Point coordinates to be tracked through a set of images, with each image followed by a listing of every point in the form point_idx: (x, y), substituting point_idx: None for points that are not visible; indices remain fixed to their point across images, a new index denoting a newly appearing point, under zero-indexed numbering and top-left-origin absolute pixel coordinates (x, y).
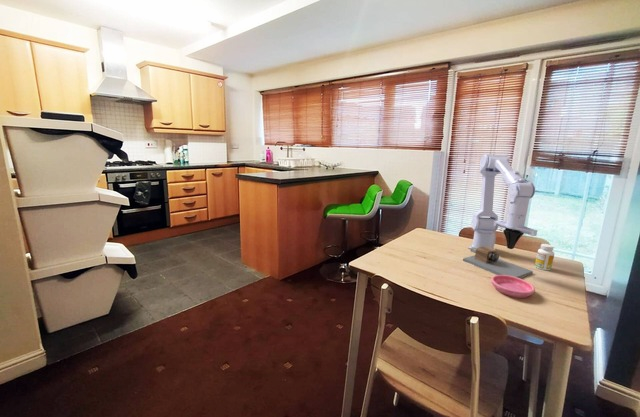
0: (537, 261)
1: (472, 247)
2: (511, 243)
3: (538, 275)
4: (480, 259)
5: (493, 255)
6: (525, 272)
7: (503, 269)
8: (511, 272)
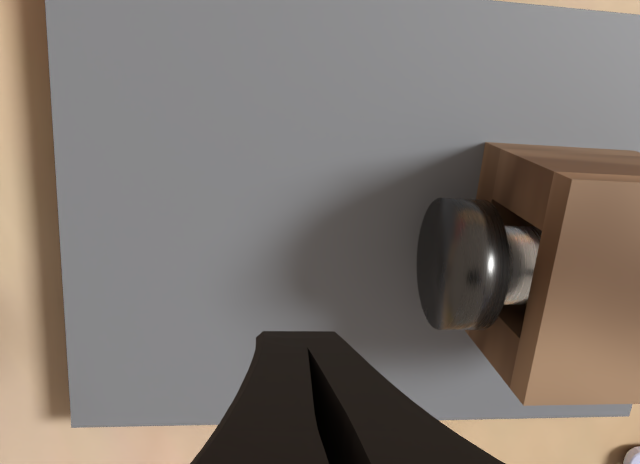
0: None
1: None
2: (259, 390)
3: (18, 418)
4: (572, 149)
5: (478, 227)
6: (83, 312)
7: (267, 153)
8: (164, 153)
